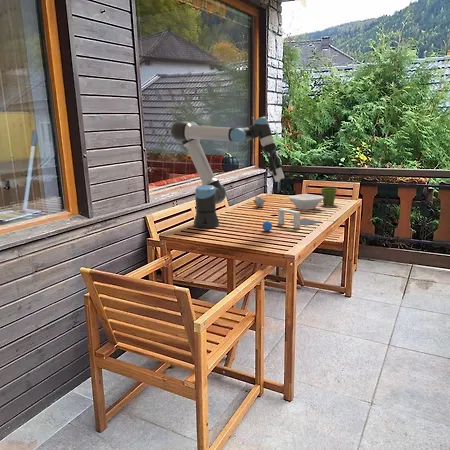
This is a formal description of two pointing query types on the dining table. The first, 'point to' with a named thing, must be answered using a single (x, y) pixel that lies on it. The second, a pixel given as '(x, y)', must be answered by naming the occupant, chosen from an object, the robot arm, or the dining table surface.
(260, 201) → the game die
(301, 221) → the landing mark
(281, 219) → the bridge
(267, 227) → the ball
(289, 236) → the dining table surface
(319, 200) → the bowl
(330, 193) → the plant pot
